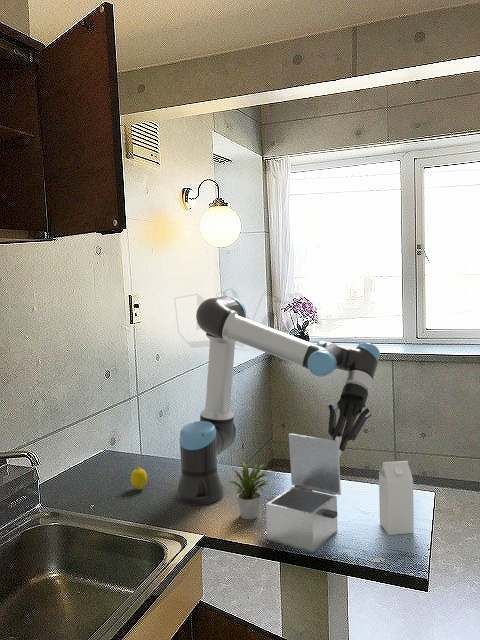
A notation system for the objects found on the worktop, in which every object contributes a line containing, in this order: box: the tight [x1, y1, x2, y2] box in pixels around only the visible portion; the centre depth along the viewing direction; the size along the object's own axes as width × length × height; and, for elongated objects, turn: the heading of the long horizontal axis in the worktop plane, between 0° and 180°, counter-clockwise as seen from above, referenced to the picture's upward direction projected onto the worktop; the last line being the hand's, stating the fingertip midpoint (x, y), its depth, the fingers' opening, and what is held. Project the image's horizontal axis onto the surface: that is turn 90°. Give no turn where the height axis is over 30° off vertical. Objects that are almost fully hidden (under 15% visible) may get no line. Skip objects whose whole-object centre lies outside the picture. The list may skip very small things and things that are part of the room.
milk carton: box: [378, 460, 415, 536], centre depth 154 cm, size 7×7×19 cm
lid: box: [288, 433, 342, 496], centre depth 158 cm, size 15×16×3 cm
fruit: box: [130, 466, 148, 491], centre depth 191 cm, size 6×6×8 cm
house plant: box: [228, 461, 275, 520], centre depth 165 cm, size 14×14×16 cm
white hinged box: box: [265, 486, 339, 554], centre depth 152 cm, size 20×14×10 cm
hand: (333, 459), depth 155 cm, fingers closed
